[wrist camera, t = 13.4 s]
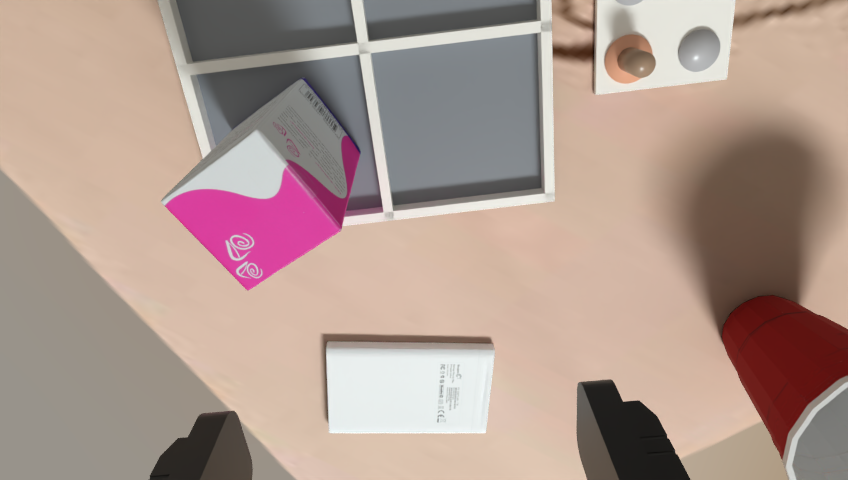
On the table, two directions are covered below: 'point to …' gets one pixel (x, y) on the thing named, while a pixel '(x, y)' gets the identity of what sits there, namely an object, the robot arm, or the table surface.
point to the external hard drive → (408, 387)
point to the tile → (660, 43)
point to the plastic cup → (795, 382)
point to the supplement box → (270, 186)
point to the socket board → (388, 91)
